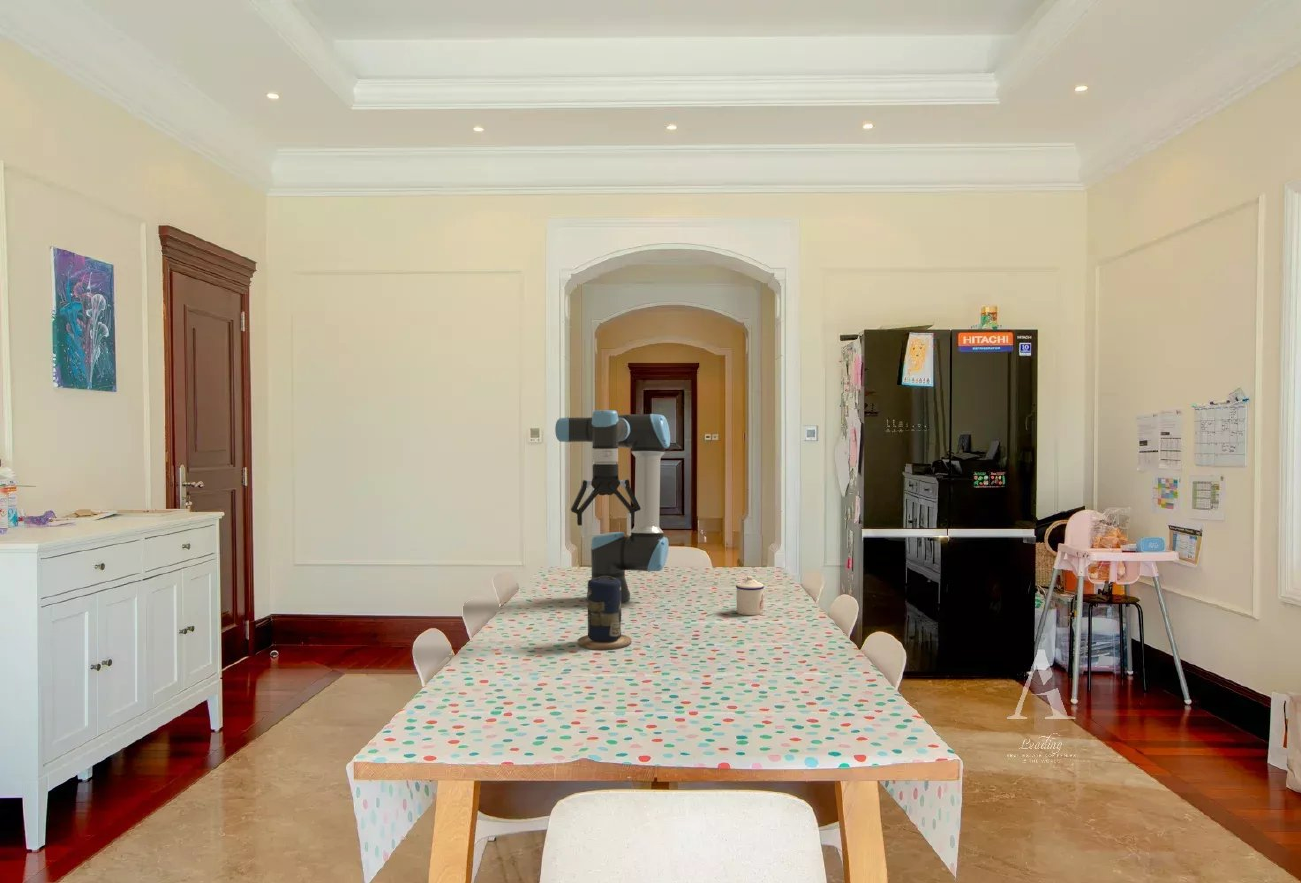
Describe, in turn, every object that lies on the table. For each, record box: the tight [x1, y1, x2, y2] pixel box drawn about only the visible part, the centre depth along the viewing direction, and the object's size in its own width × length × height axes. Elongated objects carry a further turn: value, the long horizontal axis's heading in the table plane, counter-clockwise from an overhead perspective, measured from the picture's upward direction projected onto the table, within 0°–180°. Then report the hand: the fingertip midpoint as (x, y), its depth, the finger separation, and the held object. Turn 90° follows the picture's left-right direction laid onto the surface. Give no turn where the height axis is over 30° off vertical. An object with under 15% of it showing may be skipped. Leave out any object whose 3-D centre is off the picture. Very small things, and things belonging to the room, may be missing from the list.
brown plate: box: [577, 633, 632, 651], centre depth 235 cm, size 15×15×1 cm
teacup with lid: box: [735, 575, 765, 616], centre depth 272 cm, size 12×9×12 cm
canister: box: [586, 576, 622, 642], centre depth 235 cm, size 10×10×18 cm
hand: (606, 536), depth 244 cm, fingers open, 13 cm apart
